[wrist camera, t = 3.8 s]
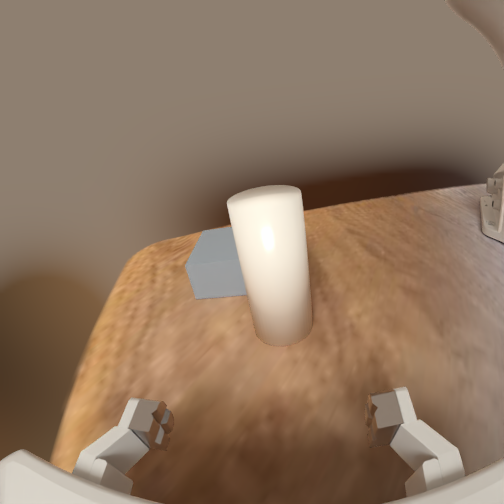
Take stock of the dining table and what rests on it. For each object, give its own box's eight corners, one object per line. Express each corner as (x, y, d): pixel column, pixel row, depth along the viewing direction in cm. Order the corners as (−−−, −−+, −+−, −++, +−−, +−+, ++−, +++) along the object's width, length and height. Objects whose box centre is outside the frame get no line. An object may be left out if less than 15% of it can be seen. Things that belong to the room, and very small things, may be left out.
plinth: (210, 260, 36) (203, 230, 34) (275, 252, 35) (270, 221, 33) (196, 299, 29) (185, 265, 27) (275, 292, 28) (269, 255, 26)
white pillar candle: (270, 303, 26) (249, 185, 21) (320, 312, 24) (310, 185, 19) (244, 338, 23) (212, 209, 18) (299, 352, 21) (283, 210, 16)
